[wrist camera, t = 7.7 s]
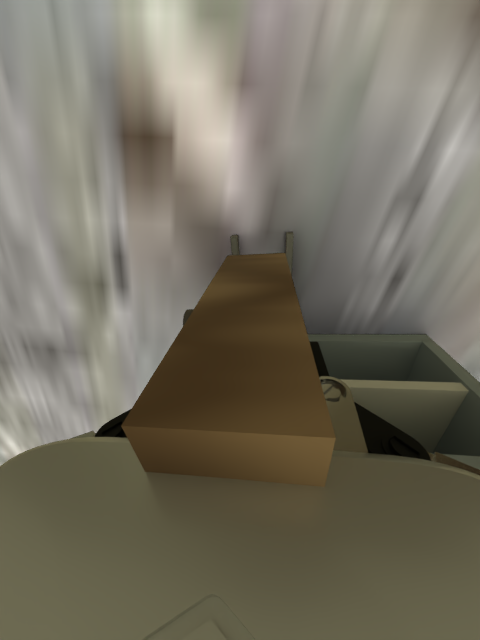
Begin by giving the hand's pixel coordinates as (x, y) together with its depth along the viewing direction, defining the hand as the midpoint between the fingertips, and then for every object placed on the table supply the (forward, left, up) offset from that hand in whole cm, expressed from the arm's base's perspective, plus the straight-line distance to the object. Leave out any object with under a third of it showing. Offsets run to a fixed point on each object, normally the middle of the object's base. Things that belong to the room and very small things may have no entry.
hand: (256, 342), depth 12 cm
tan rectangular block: (0, 0, -2) cm, 2 cm away
